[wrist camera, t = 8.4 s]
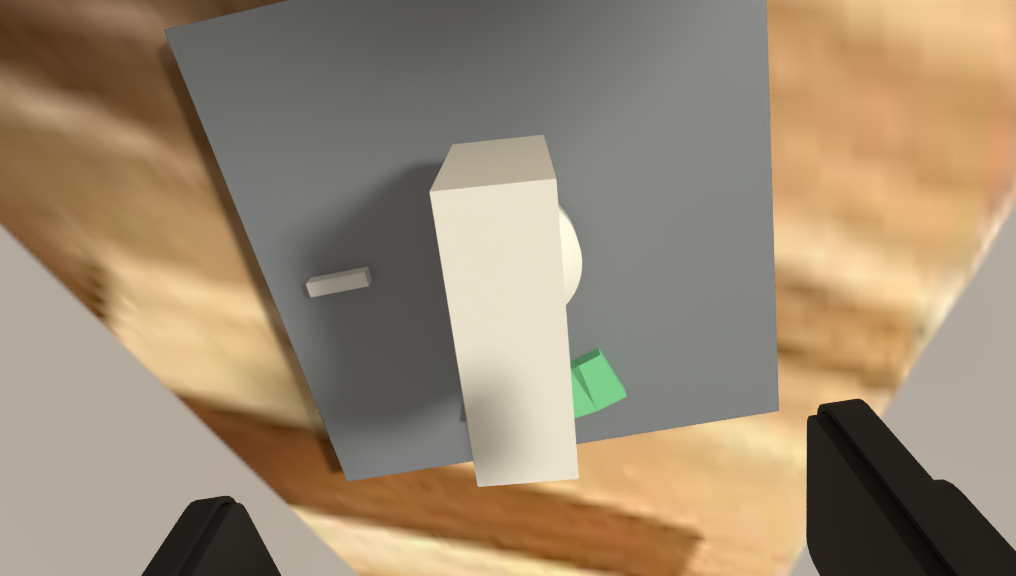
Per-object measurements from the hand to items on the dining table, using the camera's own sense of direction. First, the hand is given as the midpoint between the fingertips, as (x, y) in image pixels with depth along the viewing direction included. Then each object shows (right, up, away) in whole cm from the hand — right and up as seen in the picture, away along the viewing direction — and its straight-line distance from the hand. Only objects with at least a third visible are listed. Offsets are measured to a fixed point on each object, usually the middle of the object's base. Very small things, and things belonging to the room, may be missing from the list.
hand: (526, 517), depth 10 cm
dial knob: (0, +3, +14) cm, 15 cm away
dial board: (0, +6, +15) cm, 16 cm away
